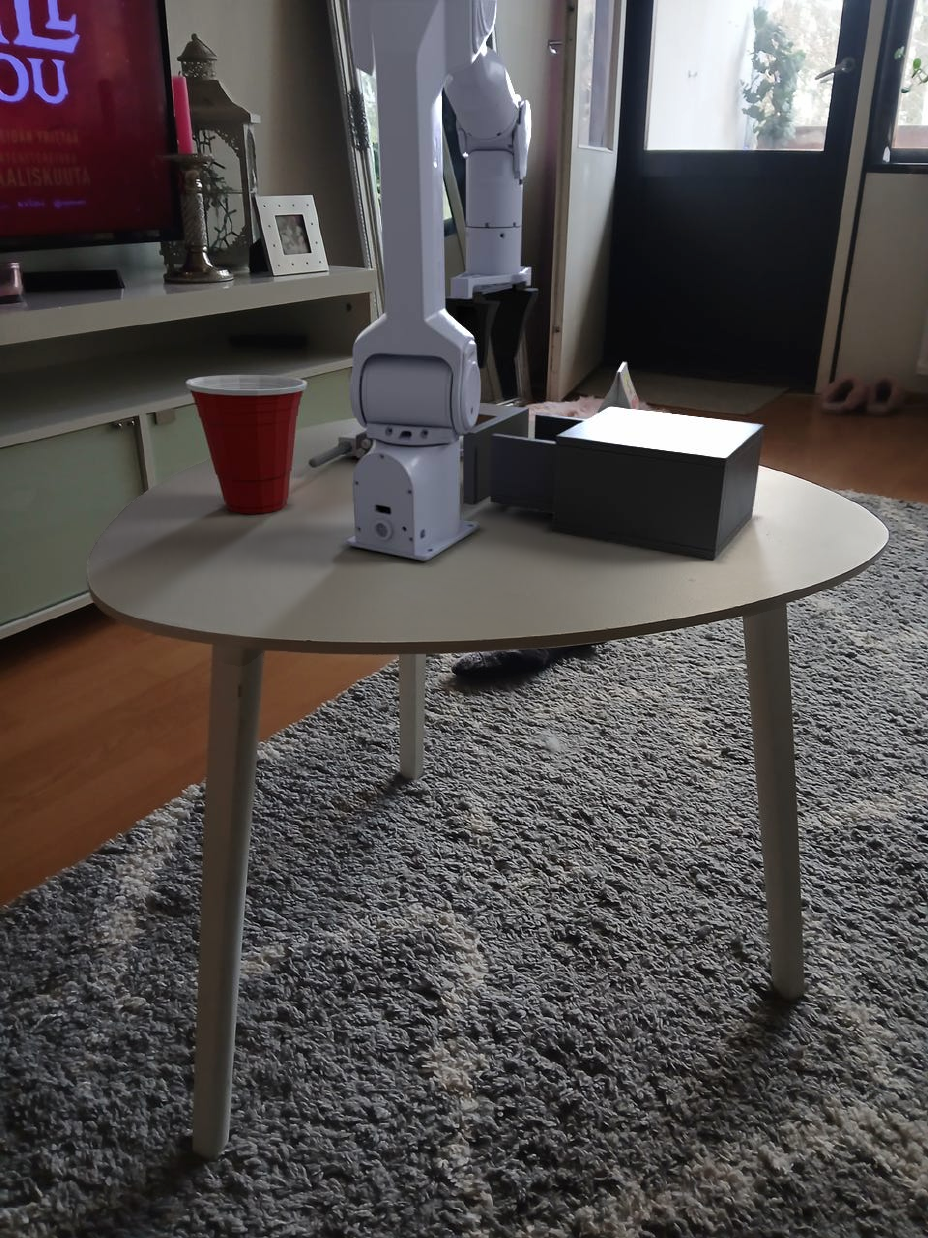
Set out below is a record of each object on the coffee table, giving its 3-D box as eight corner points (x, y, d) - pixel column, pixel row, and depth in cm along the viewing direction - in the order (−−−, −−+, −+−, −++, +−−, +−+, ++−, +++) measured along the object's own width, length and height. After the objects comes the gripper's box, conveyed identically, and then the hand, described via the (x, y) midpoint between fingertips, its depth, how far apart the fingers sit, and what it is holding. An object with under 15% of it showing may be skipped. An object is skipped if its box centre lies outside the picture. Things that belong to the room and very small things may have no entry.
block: (500, 461, 106) (501, 416, 104) (460, 455, 108) (460, 411, 106) (520, 451, 110) (521, 407, 108) (481, 445, 112) (481, 402, 110)
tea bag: (594, 465, 105) (600, 371, 101) (602, 449, 111) (607, 360, 107) (628, 467, 104) (635, 373, 100) (634, 451, 110) (641, 362, 106)
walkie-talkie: (386, 432, 118) (302, 475, 101) (385, 395, 116) (299, 434, 99) (452, 439, 115) (378, 485, 98) (452, 402, 113) (376, 442, 96)
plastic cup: (336, 495, 95) (329, 371, 90) (273, 529, 86) (262, 393, 81) (245, 482, 99) (233, 363, 94) (176, 513, 90) (159, 383, 85)
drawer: (424, 496, 92) (423, 425, 89) (480, 467, 101) (481, 402, 98) (598, 527, 84) (603, 450, 81) (642, 492, 93) (648, 422, 90)
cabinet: (551, 531, 86) (555, 435, 82) (604, 493, 96) (609, 406, 92) (714, 560, 79) (726, 458, 76) (752, 516, 89) (764, 424, 86)
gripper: (495, 231, 92) (493, 376, 97) (558, 224, 103) (553, 354, 109) (431, 229, 95) (433, 369, 101) (499, 222, 106) (497, 349, 112)
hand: (491, 361), depth 105 cm, fingers open, 7 cm apart
